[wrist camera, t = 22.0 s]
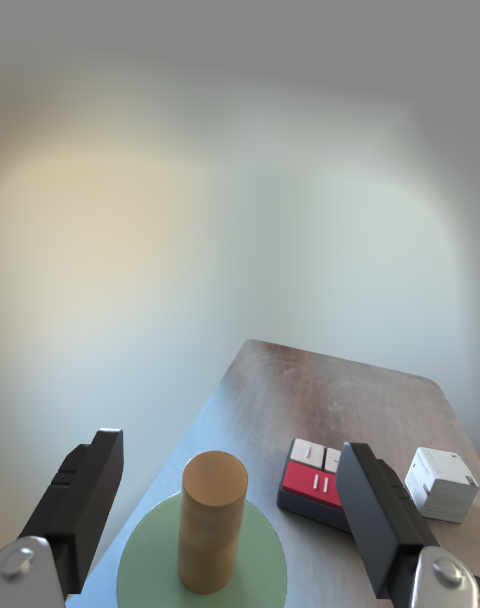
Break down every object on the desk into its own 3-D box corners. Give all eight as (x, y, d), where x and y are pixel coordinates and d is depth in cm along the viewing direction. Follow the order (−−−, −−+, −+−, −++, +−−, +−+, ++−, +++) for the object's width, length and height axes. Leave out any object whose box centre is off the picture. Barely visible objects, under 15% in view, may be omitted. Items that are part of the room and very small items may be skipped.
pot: (125, 820, 22) (123, 754, 18) (114, 564, 36) (112, 502, 33) (307, 703, 27) (329, 638, 24) (235, 523, 42) (243, 467, 38)
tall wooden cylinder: (184, 605, 25) (191, 515, 22) (171, 540, 30) (176, 457, 26) (244, 580, 27) (259, 495, 24) (224, 524, 32) (234, 444, 28)
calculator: (293, 434, 53) (390, 462, 49) (290, 454, 55) (384, 483, 50) (277, 485, 43) (397, 527, 39) (275, 509, 45) (390, 552, 40)
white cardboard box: (403, 481, 51) (416, 445, 49) (442, 488, 51) (458, 452, 48) (419, 517, 45) (435, 478, 43) (463, 525, 45) (482, 486, 42)
